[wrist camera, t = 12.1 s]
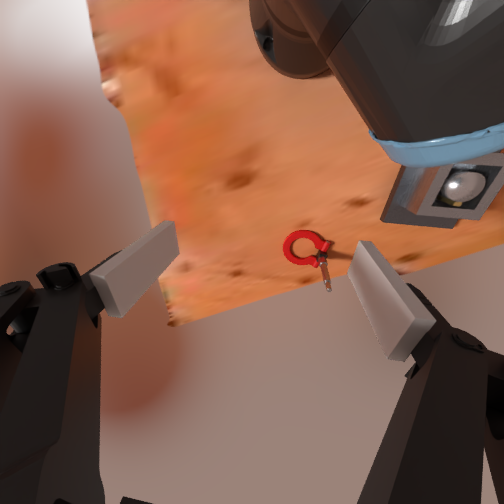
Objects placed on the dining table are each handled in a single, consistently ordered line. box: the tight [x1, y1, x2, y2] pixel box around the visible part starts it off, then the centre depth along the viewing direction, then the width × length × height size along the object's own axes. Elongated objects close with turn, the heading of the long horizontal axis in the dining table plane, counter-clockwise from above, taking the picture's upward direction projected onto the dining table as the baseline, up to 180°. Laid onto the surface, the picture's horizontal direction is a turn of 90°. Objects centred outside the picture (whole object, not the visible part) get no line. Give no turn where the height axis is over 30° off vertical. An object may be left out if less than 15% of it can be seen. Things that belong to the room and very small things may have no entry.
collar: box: [400, 152, 504, 220], centre depth 30 cm, size 9×9×5 cm
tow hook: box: [283, 230, 332, 292], centre depth 38 cm, size 8×13×9 cm
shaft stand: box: [380, 149, 502, 229], centre depth 31 cm, size 16×12×7 cm
